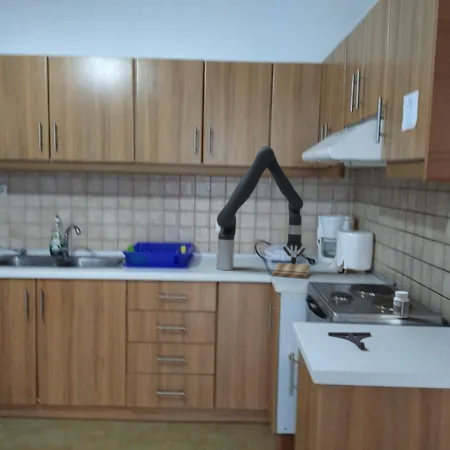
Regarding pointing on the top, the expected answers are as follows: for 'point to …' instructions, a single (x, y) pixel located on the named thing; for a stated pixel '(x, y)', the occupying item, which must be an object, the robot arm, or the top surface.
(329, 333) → the bracket
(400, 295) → the pill bottle
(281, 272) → the walnut plank
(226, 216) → the robot arm
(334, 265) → the white crumpled paper
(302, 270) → the oak plank
